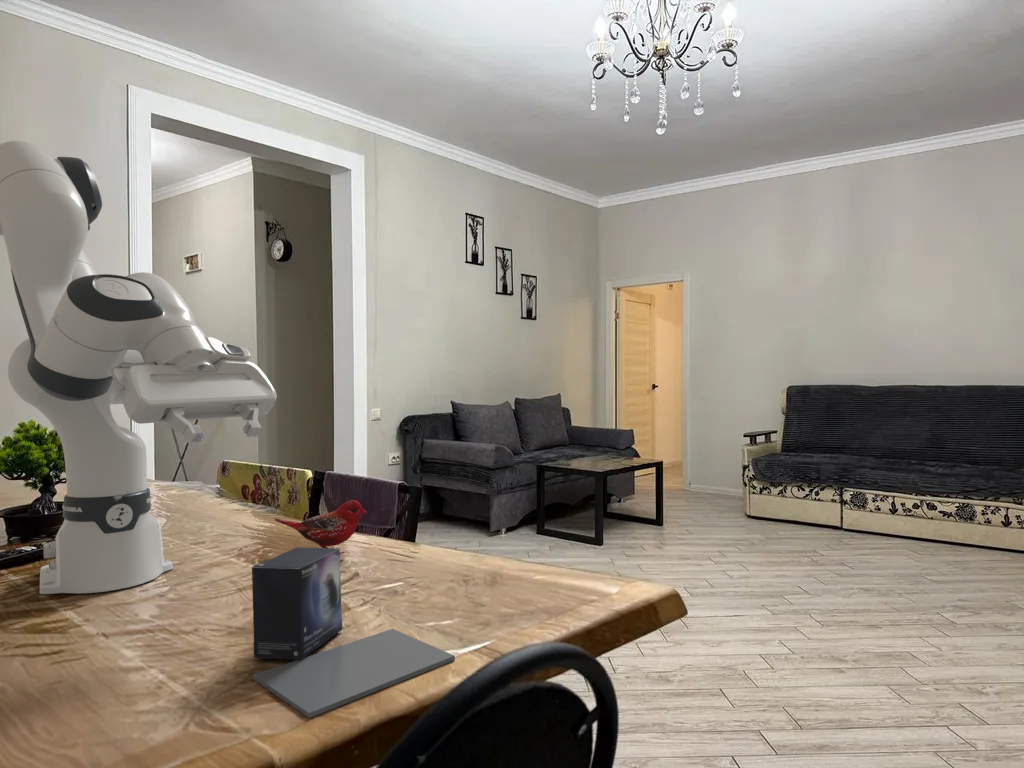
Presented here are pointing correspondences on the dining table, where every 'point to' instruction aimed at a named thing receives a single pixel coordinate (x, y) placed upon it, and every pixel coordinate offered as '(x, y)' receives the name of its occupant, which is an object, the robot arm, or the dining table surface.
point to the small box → (296, 602)
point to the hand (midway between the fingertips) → (227, 436)
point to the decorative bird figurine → (330, 525)
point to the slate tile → (351, 671)
